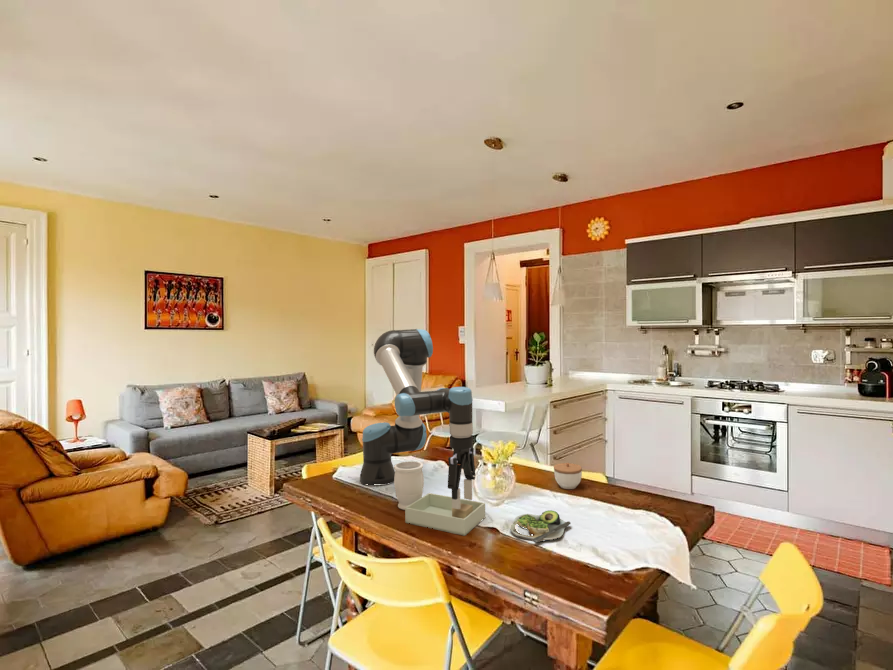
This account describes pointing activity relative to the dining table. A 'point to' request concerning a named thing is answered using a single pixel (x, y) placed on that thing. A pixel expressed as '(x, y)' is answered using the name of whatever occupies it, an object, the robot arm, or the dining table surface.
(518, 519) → the avocado toast plate
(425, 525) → the tote
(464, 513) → the cube
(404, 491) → the jar
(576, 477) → the lidded jar
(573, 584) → the dining table surface
